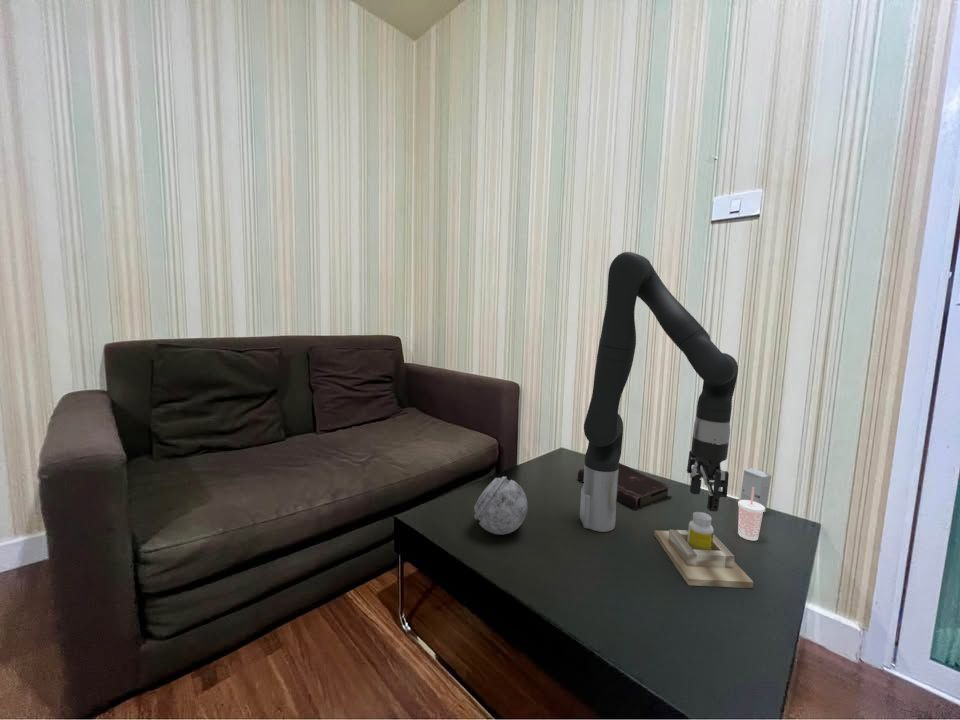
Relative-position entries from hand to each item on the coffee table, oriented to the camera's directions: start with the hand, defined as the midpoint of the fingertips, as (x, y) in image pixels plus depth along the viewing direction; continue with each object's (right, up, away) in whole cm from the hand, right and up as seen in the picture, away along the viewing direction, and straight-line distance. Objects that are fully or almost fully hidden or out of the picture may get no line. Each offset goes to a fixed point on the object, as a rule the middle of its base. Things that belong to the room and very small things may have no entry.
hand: (703, 501), depth 98 cm
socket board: (0, -15, +2) cm, 15 cm away
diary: (-5, -11, +41) cm, 43 cm away
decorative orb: (-49, -13, +13) cm, 52 cm away
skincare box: (+31, -12, +28) cm, 44 cm away
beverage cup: (+19, -14, +13) cm, 27 cm away
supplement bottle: (0, -14, +2) cm, 14 cm away
